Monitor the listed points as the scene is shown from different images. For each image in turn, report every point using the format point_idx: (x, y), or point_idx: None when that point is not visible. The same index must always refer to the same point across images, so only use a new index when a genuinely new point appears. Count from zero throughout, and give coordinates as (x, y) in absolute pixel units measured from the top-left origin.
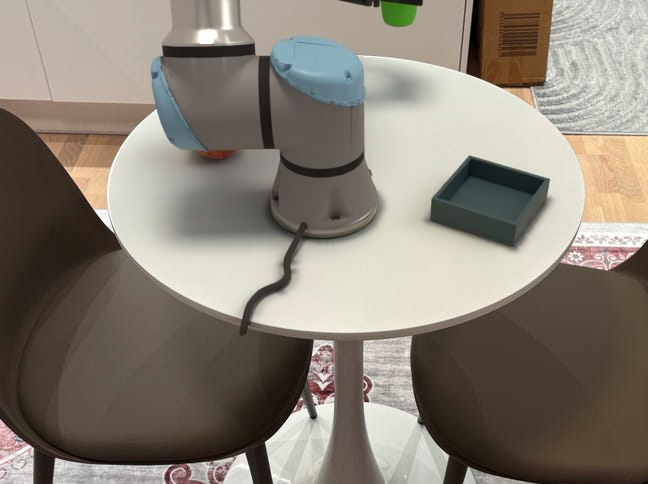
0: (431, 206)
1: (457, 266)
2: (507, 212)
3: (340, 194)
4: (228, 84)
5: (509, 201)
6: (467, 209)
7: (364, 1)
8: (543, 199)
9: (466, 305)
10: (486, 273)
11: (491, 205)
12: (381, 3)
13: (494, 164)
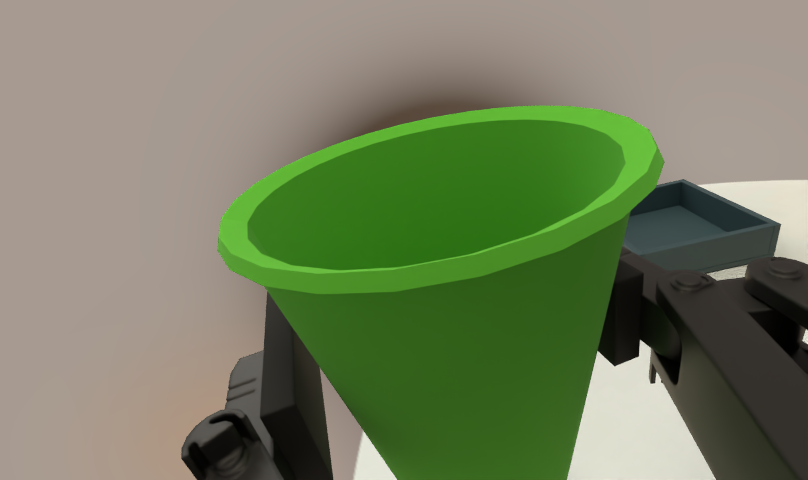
0: (777, 236)
1: (779, 208)
2: (646, 226)
3: None
4: None
5: (627, 234)
6: (731, 202)
7: (794, 357)
8: None
9: (803, 182)
10: (745, 197)
11: (657, 237)
12: (571, 450)
13: None
